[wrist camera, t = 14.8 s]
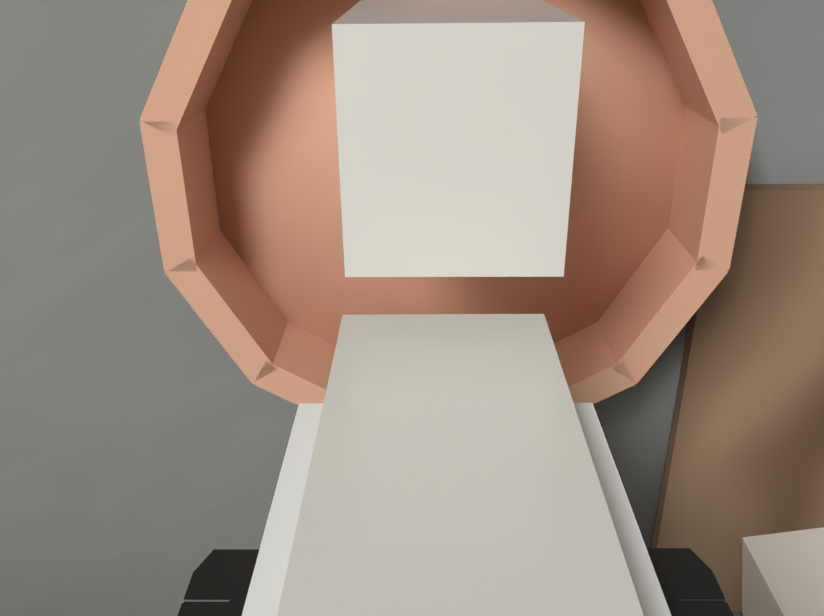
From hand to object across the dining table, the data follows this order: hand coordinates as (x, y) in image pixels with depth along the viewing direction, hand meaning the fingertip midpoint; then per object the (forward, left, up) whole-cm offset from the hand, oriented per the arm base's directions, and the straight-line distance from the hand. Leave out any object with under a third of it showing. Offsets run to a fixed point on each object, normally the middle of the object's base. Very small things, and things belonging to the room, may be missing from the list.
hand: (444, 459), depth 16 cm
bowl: (0, -3, -12) cm, 12 cm away
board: (-15, +7, -12) cm, 21 cm away
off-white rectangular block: (0, 0, -2) cm, 2 cm away
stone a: (0, -6, -11) cm, 13 cm away
